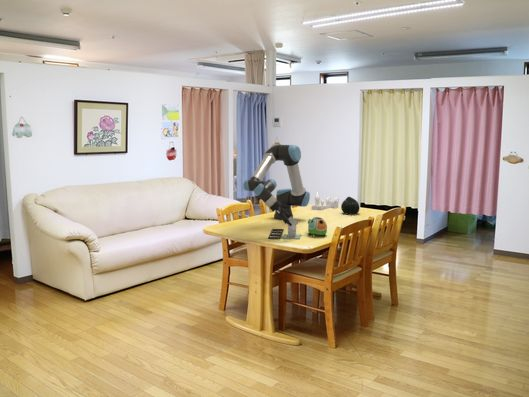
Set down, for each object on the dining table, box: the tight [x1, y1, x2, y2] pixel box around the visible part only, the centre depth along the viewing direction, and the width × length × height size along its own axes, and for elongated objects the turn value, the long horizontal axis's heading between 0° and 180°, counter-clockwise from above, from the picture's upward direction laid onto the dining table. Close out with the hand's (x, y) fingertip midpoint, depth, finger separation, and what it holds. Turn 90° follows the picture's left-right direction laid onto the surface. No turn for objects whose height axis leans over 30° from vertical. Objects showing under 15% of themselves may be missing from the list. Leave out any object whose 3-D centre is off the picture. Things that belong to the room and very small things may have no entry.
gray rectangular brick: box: [287, 218, 297, 237], centre depth 323 cm, size 5×5×11 cm
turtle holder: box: [307, 216, 328, 238], centre depth 331 cm, size 12×18×12 cm
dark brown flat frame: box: [267, 228, 285, 240], centre depth 331 cm, size 26×8×1 cm, turn 173°
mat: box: [282, 233, 302, 240], centre depth 324 cm, size 11×11×1 cm
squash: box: [340, 196, 360, 215], centre depth 409 cm, size 14×15×15 cm
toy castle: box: [311, 190, 340, 211], centre depth 432 cm, size 14×25×16 cm, turn 140°
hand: (295, 226), depth 323 cm, fingers open, 13 cm apart
